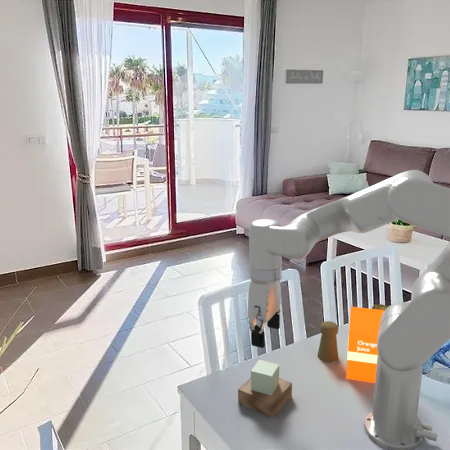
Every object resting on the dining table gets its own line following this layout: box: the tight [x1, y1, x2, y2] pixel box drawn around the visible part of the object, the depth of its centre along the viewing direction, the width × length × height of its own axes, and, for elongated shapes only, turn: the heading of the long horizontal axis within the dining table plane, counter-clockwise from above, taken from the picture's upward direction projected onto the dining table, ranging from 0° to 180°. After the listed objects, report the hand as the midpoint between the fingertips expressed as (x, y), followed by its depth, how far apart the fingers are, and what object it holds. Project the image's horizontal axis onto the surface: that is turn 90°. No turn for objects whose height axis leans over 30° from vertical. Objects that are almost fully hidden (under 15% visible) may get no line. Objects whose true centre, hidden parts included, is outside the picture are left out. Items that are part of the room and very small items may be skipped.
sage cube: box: [250, 359, 280, 396], centre depth 116 cm, size 6×6×6 cm
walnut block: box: [237, 377, 293, 419], centre depth 118 cm, size 10×10×4 cm
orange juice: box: [345, 306, 384, 384], centre depth 126 cm, size 8×9×20 cm
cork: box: [317, 320, 339, 363], centre depth 136 cm, size 6×6×11 cm
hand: (265, 336), depth 113 cm, fingers open, 9 cm apart
